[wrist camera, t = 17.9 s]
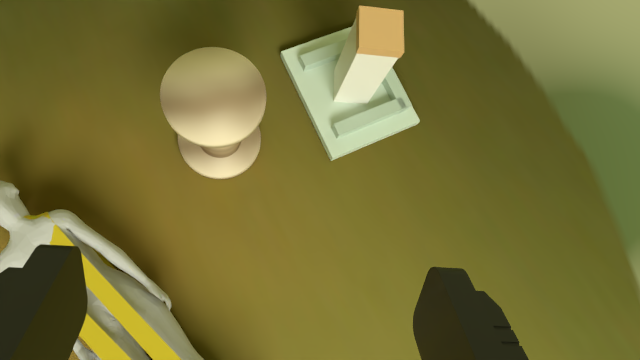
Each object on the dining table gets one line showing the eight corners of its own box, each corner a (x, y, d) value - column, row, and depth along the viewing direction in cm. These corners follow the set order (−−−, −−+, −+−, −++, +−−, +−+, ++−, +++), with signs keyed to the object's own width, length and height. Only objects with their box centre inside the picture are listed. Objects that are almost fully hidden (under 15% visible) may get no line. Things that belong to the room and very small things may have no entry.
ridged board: (280, 56, 48) (282, 45, 46) (365, 26, 51) (370, 14, 49) (330, 160, 47) (335, 154, 44) (416, 124, 49) (424, 116, 47)
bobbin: (166, 119, 45) (143, 66, 34) (241, 92, 47) (241, 34, 36) (197, 191, 44) (184, 159, 33) (273, 160, 46) (282, 121, 35)
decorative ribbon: (206, 516, 34) (-76, 218, 35) (219, 474, 40) (-23, 220, 41) (285, 432, 35) (8, 145, 36) (286, 403, 41) (47, 157, 42)
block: (332, 102, 47) (359, 47, 36) (333, 68, 48) (359, 5, 37) (367, 105, 47) (404, 51, 37) (367, 72, 48) (403, 10, 38)
